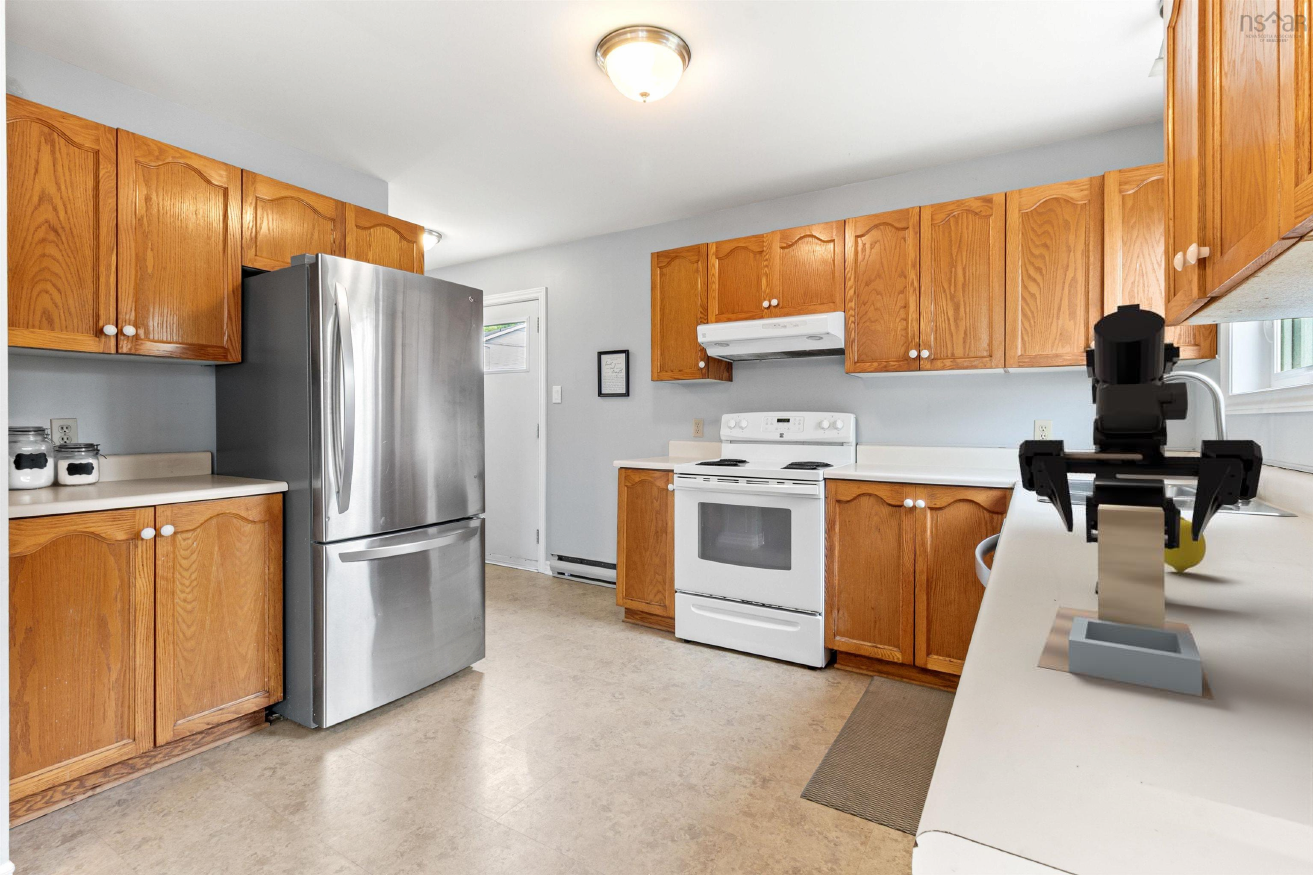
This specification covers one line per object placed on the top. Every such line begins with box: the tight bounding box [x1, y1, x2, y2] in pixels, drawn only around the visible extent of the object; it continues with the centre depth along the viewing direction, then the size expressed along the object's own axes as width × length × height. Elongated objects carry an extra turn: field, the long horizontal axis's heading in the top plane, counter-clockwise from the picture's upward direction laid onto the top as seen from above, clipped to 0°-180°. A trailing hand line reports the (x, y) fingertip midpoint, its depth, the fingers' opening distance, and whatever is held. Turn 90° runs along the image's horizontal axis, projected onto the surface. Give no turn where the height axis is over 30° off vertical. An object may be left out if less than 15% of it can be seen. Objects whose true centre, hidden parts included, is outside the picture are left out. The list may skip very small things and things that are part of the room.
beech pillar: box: [1097, 504, 1166, 629], centre depth 55 cm, size 4×4×12 cm
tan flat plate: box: [1037, 605, 1214, 701], centre depth 55 cm, size 22×10×1 cm, turn 143°
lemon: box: [1164, 516, 1207, 573], centre depth 88 cm, size 6×6×8 cm
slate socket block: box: [1069, 617, 1203, 698], centre depth 49 cm, size 8×8×2 cm
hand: (1129, 533), depth 57 cm, fingers open, 9 cm apart
